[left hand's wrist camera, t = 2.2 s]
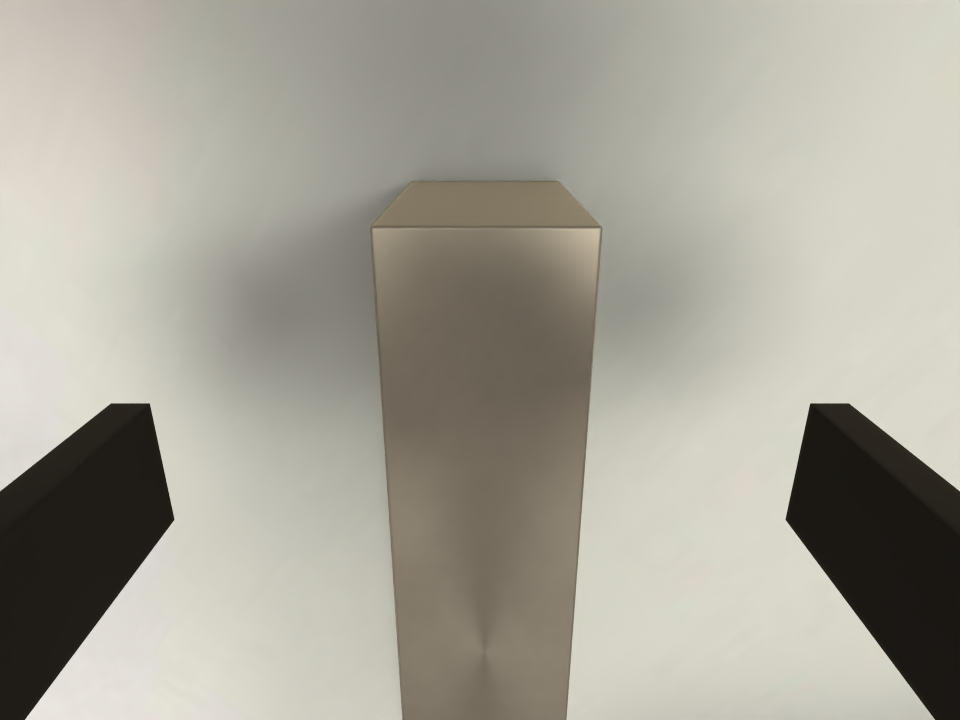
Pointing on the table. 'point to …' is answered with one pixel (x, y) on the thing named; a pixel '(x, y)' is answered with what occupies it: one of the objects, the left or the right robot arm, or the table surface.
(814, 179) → the table surface
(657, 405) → the table surface
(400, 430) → the bar
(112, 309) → the table surface
